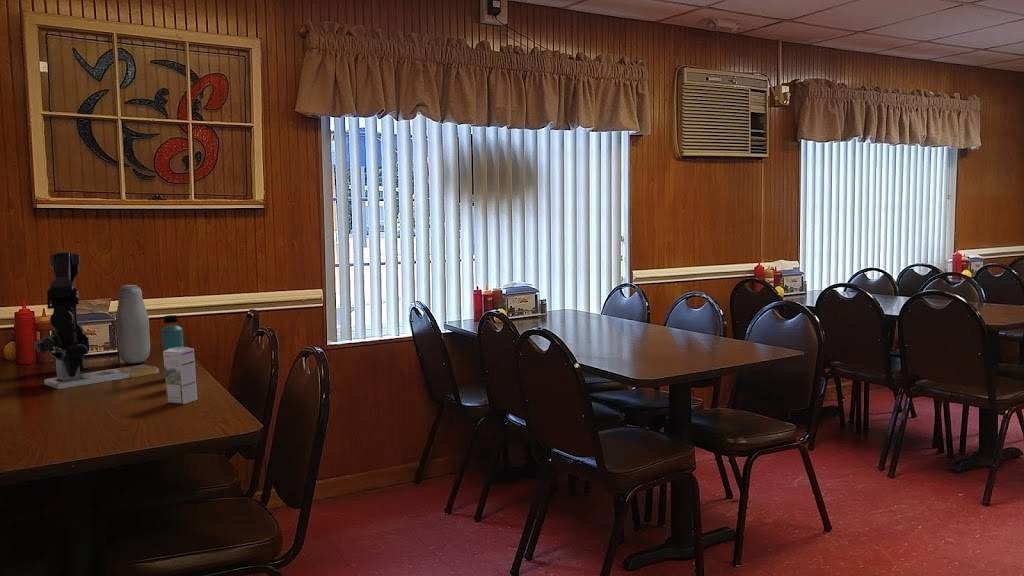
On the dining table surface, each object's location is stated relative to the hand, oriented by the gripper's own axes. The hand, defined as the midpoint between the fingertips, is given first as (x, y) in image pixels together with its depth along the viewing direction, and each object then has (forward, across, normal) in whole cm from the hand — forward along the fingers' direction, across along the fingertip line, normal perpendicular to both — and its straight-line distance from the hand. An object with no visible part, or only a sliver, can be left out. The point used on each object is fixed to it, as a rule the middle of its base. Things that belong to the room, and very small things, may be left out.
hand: (68, 375), depth 239 cm
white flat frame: (+2, 0, +10) cm, 10 cm away
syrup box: (+3, +55, +10) cm, 56 cm away
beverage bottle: (+3, +20, +24) cm, 31 cm away
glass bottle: (+3, -20, +28) cm, 35 cm away
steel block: (+3, 0, 0) cm, 3 cm away
